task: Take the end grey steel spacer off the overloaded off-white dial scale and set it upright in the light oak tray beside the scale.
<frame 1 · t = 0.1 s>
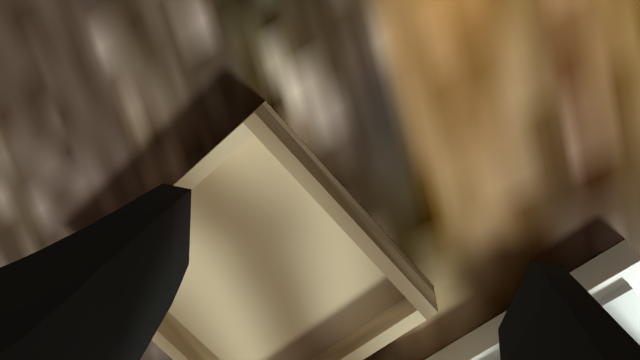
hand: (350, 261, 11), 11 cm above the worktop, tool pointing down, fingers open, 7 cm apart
tray: (262, 267, 23), on the worktop
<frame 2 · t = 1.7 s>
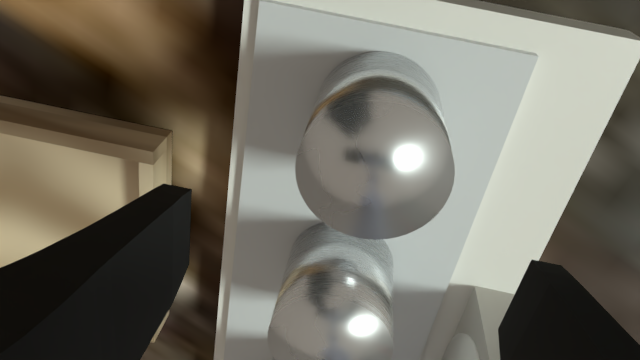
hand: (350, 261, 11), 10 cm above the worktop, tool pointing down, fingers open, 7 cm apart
scale: (372, 241, 23), on the worktop
tray: (60, 209, 25), on the worktop
spacer b: (341, 263, 22), point 2 cm above the worktop, touching scale
spacer c: (377, 112, 18), point 2 cm above the worktop, touching scale
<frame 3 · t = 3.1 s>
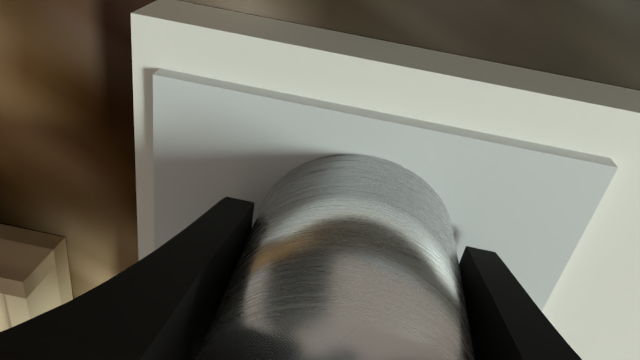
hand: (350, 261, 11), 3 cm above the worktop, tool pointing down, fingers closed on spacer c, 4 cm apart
spacer c: (352, 241, 11), point 2 cm above the worktop, touching gripper, scale
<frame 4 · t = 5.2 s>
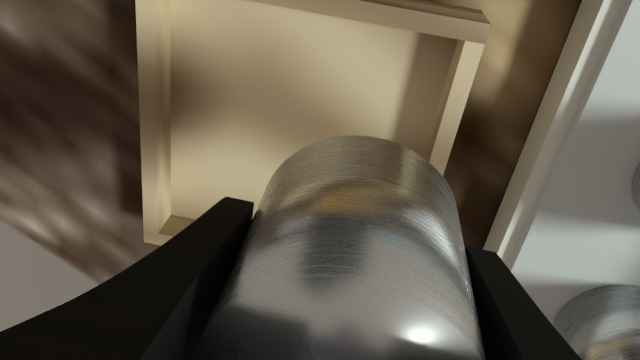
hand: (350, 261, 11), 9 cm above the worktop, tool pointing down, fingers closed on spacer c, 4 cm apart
spacer a: (611, 326, 20), point 2 cm above the worktop, touching scale
tray: (298, 128, 20), on the worktop
spacer c: (357, 224, 11), point 9 cm above the worktop, touching gripper
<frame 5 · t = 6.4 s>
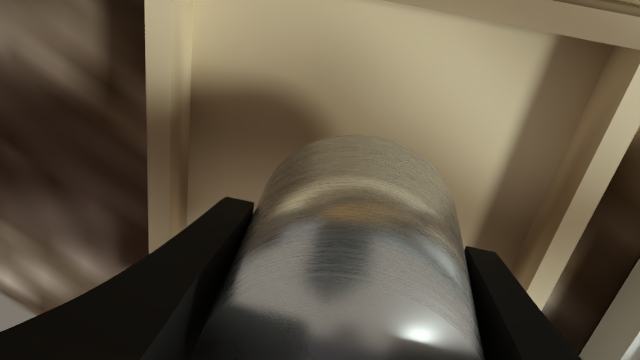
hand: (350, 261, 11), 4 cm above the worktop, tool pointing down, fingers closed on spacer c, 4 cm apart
tray: (362, 165, 15), on the worktop
spacer c: (356, 224, 11), point 3 cm above the worktop, touching gripper
when the fingers open (3 cm above the worktop, at t = 7.2 s): spacer c drops 1 cm, resting on tray.
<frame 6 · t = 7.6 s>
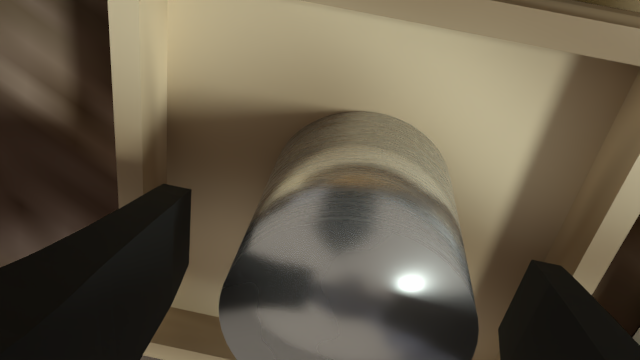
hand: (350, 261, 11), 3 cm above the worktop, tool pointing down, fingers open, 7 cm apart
tray: (358, 193, 13), on the worktop
spacer c: (359, 194, 13), point 1 cm above the worktop, touching tray
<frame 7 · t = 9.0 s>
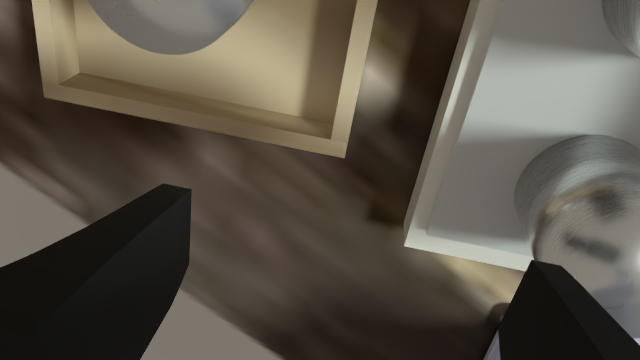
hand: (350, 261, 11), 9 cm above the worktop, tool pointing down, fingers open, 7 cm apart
spacer a: (581, 193, 17), point 2 cm above the worktop, touching scale
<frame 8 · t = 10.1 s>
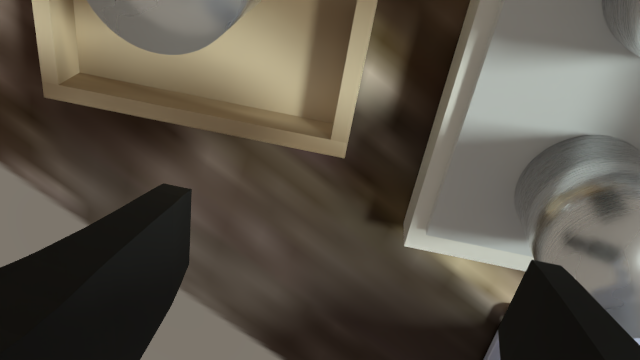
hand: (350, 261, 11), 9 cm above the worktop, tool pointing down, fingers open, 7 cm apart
spacer a: (581, 193, 17), point 2 cm above the worktop, touching scale
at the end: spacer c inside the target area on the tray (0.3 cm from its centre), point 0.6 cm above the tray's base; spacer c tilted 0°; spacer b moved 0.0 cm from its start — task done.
